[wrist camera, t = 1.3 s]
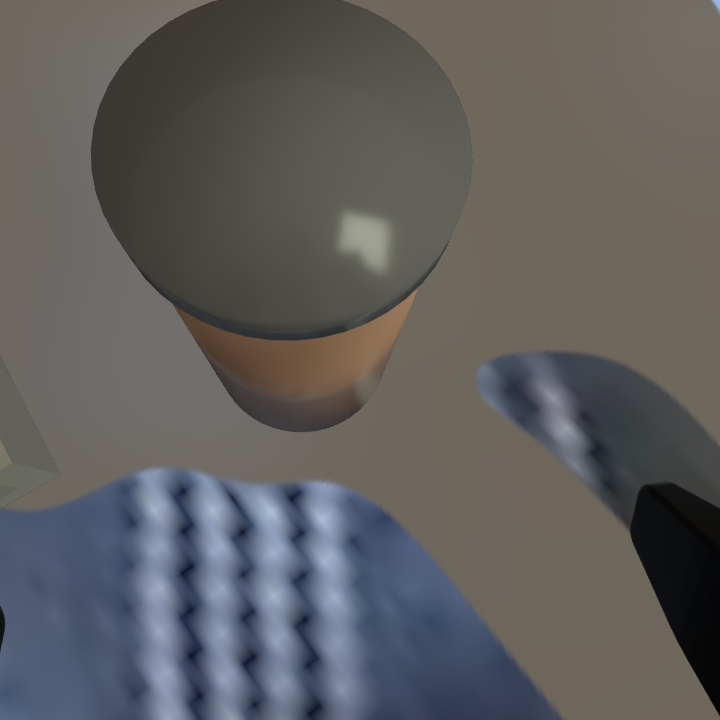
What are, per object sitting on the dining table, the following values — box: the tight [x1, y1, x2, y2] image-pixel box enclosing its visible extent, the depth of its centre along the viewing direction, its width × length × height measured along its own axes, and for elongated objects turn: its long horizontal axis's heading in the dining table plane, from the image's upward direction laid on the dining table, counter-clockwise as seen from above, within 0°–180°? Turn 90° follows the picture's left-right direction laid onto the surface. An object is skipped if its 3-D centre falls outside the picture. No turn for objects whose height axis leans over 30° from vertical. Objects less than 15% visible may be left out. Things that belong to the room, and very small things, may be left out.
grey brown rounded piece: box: [91, 0, 472, 432], centre depth 17 cm, size 7×7×12 cm
